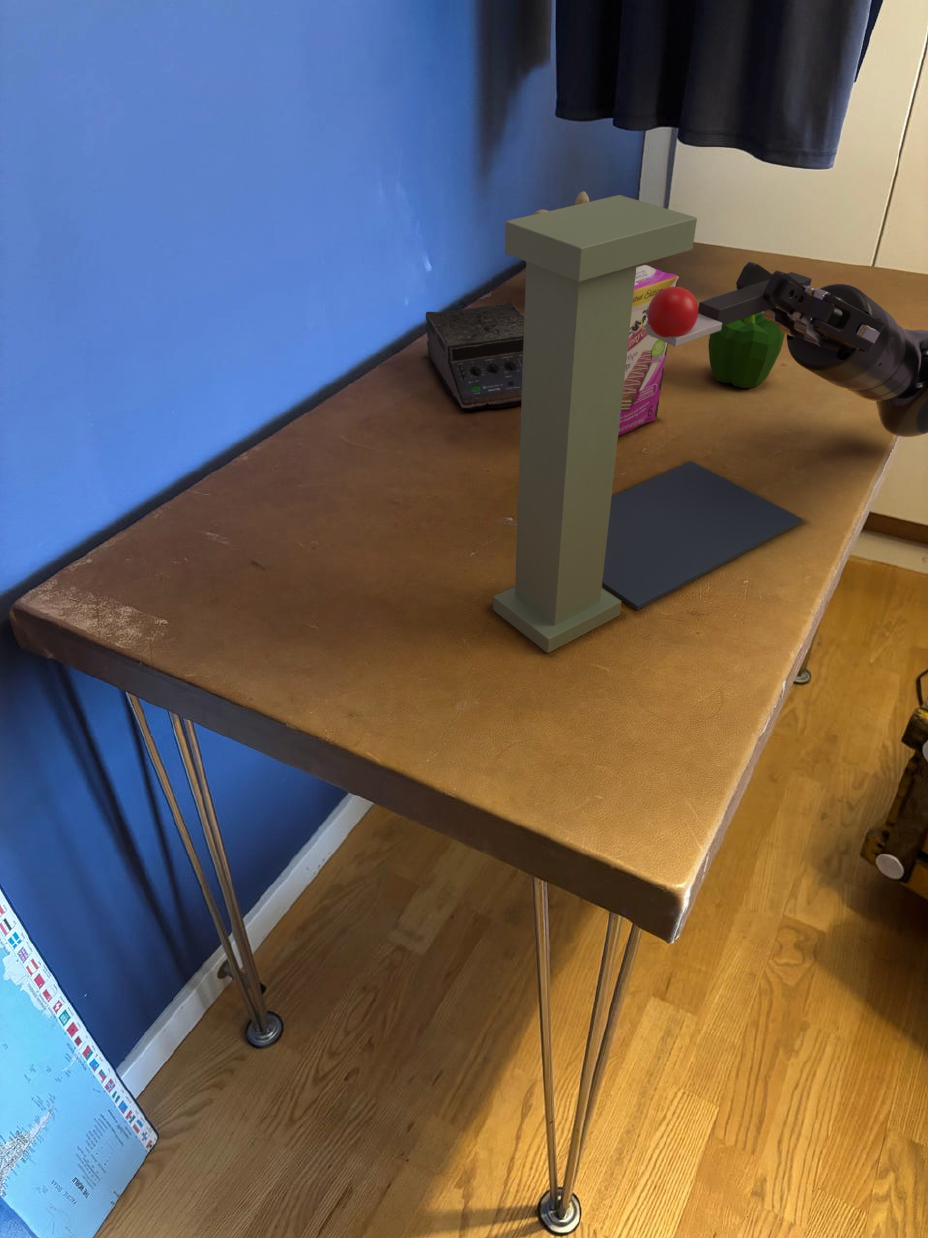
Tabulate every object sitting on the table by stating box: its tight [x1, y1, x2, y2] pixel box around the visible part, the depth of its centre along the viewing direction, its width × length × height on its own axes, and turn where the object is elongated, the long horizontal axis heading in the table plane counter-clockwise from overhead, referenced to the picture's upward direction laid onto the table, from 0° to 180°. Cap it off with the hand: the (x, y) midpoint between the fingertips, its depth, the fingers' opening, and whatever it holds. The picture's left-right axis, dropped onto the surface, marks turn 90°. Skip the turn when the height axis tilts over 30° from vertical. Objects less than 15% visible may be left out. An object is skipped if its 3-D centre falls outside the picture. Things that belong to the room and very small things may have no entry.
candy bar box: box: [618, 264, 680, 437], centre depth 97 cm, size 11×5×16 cm, turn 130°
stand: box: [492, 194, 698, 654], centre depth 67 cm, size 10×7×31 cm, turn 127°
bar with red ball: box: [646, 271, 813, 347], centre depth 69 cm, size 17×4×4 cm, turn 127°
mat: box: [602, 460, 803, 611], centre depth 86 cm, size 22×14×1 cm, turn 127°
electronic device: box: [425, 301, 525, 411], centre depth 110 cm, size 12×17×6 cm
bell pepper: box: [708, 312, 786, 389], centre depth 108 cm, size 8×8×10 cm
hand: (758, 279), depth 70 cm, fingers closed on bar with red ball, 2 cm apart
